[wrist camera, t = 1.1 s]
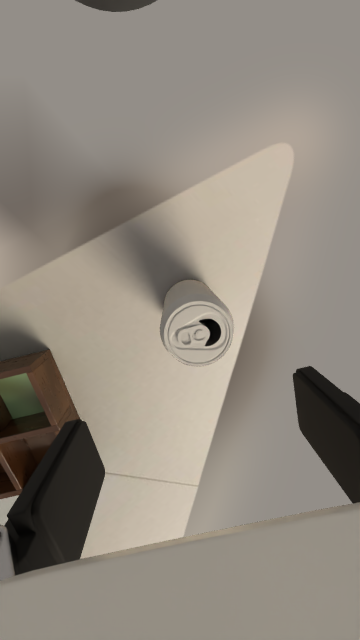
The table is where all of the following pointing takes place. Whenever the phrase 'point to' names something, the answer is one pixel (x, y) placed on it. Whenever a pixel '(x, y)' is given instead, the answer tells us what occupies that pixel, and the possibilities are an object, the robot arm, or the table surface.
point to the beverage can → (195, 324)
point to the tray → (29, 416)
